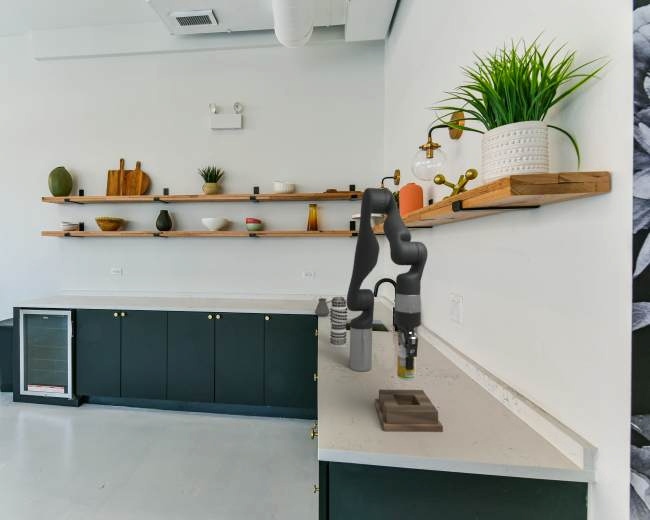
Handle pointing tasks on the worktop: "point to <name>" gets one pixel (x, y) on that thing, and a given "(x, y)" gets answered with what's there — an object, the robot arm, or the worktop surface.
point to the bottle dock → (407, 411)
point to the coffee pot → (322, 308)
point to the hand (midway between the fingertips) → (406, 365)
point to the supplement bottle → (401, 369)
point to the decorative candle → (338, 322)
